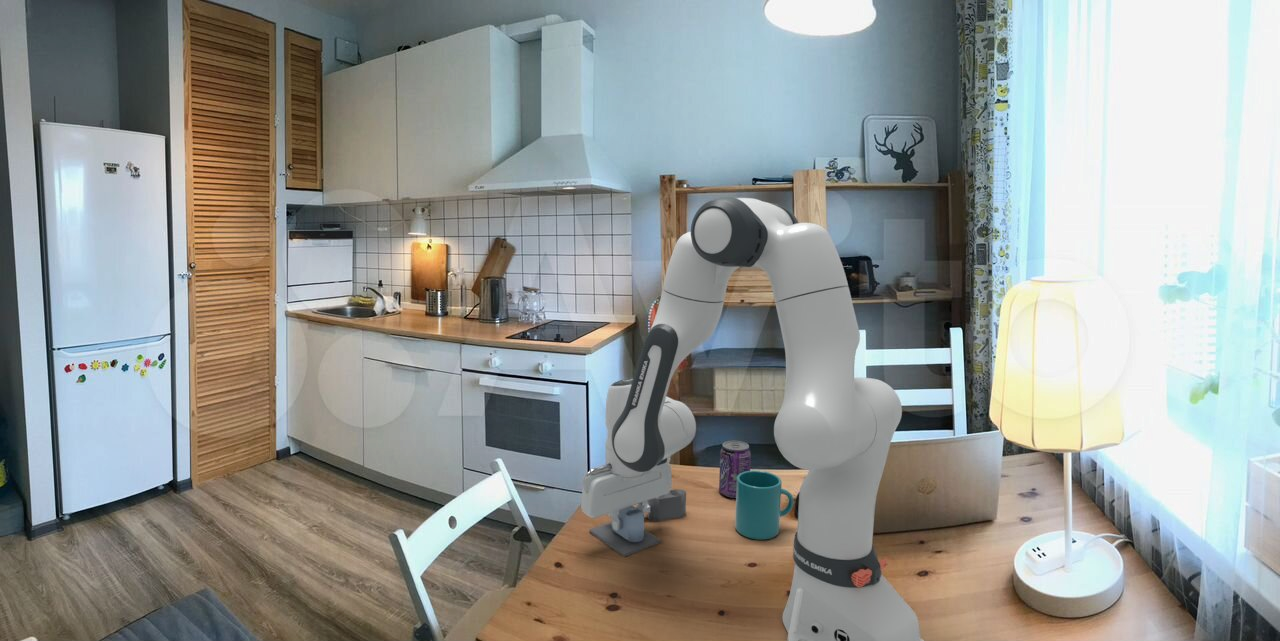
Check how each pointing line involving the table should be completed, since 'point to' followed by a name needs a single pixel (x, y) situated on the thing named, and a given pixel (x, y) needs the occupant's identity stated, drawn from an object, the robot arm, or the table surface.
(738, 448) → the beverage can
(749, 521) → the cup
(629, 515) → the blue connector
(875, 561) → the robot arm
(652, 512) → the dark gray connector
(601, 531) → the pad
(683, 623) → the table surface
